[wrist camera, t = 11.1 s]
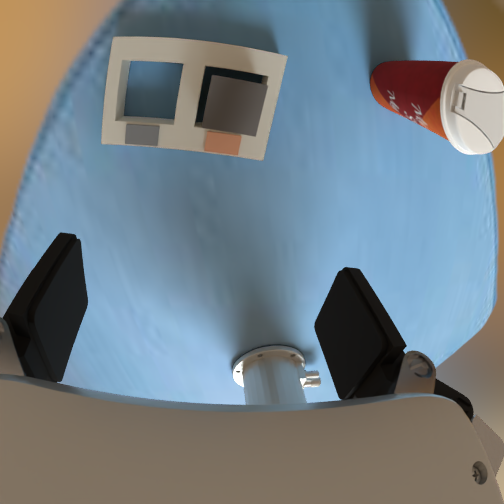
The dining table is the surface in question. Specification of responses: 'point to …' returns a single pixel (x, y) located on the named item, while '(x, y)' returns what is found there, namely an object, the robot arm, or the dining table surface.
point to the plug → (234, 105)
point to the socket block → (187, 95)
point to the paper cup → (445, 100)
